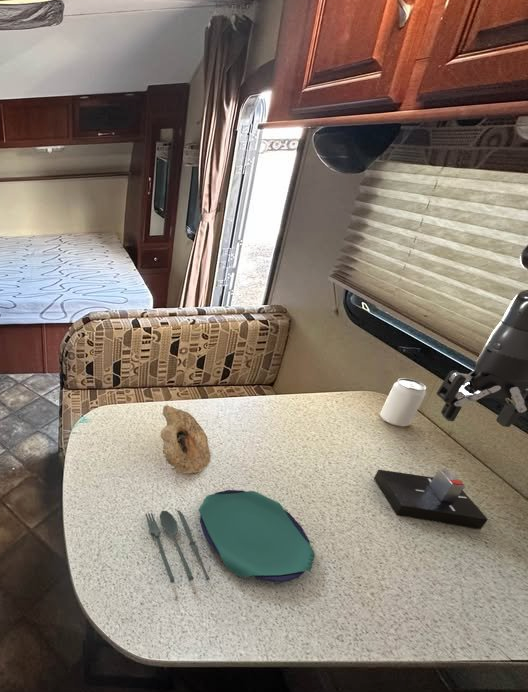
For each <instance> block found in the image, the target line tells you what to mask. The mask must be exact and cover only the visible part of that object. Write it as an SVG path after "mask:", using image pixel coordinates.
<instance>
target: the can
mask: <svg viewBox="0 0 528 692" xmlns="http://www.w3.org/2000/svg"><path fill="white" fill-rule="evenodd" d="M426 390H427V386H426V385H425V384H424V383H422V382H420V381H418V380H415V379H411V378H405V377H402V378H398V379H397V381H395V382H394V383H393V385H392V386H391V389H390V392H389V393H388V395H387V398H386V399H385V402H384V404H383V406H382V408H381V410H380V413H379V416H380V418H381V419H382V420H383V422H386V423H388V424H390V425H392V426H397V427H403V428H404V427H408V426H411V424H412V421H413V419H414V418H415V416H416V414H417V412H418V410H419V408H420V406H421V404H422V403H423V401H424V399H425V396H426V395H427V391H426Z"/></svg>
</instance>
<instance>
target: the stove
mask: <svg viewBox="0 0 528 692" xmlns="http://www.w3.org/2000/svg"><path fill="white" fill-rule="evenodd" d="M433 478H434V476H426V475H420V474H413V473H405V472H399V471H392V470H386V469H385V470H384V469H380V468H379V469H377V471H376V473H375V475H374V477H373V481H374V482H375V483H376V486H378V488H379V490H380V491H381V493H382V495H383V496H384V498H385V499H386V501H387V502H388V504H389V506H390V507H391V509H392V510H393V512H394V513H395V515H396V516H400V517H404V518H406V517H407V518H412V519H417V520H423V521H428V520H429V521H430V522H434V521H436V522H435V523H440V522H441V524H446V525H453V526H459V527H465V528H470V529H476V530H482V529H483V527H484V526H485V524H486V523H488V521H489V519H488V517H487V516H486V515H485V514H484V513H483V512H482V511H481V509H480V508H479V507H478V506H477V505H476V504H475V502H474V501H473V500H472V499H471V497H469V495H467V493H466V492H465V491H464V489H463V490H462V492H461V493H460V495H459V496H458V497H457V499H456V500H455V502H454V503H447V502H441V500H440V499H439V498H438V496H437V495H436V494H435V492H434V491H433V490H432V488H431V487H430V486H429V484H430V483H431V481H432V479H433ZM429 521H428V522H429Z"/></svg>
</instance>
